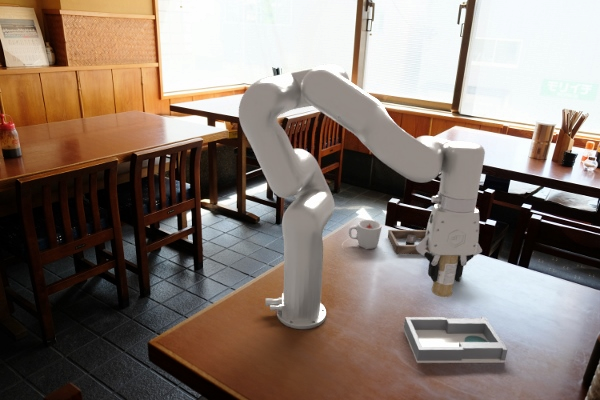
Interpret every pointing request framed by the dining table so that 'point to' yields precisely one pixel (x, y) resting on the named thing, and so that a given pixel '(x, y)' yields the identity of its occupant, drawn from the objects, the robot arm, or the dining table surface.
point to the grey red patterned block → (410, 240)
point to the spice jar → (445, 276)
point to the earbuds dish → (403, 235)
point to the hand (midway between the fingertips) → (444, 277)
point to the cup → (367, 233)
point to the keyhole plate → (454, 340)
